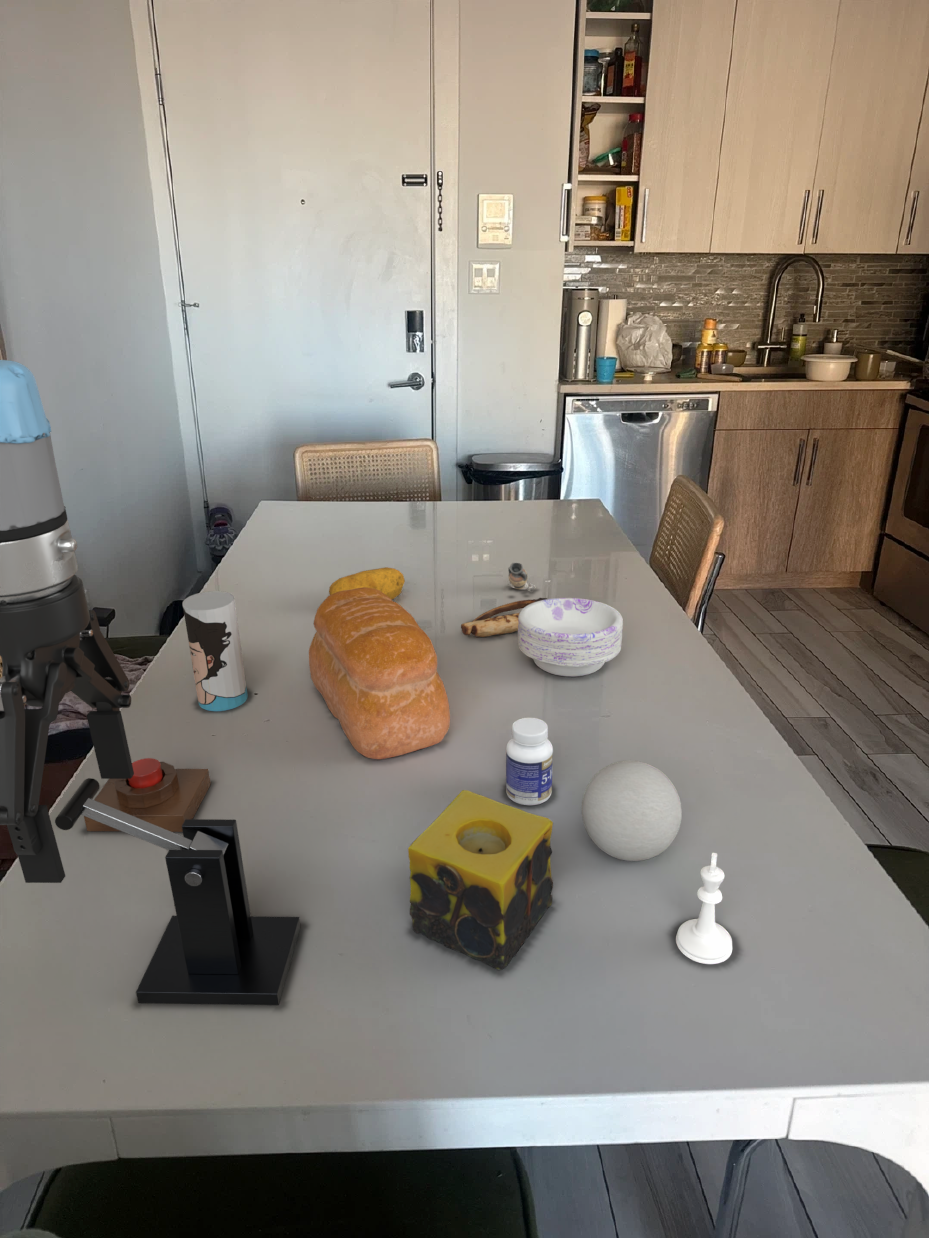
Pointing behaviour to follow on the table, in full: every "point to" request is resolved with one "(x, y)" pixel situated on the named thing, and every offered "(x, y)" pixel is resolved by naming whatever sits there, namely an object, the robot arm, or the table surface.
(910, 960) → the table surface
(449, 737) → the table surface
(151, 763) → the button
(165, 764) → the button block
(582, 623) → the paper bowls
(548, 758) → the pill bottle
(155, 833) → the lever
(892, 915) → the table surface
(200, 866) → the bracket
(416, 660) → the bread
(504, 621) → the bone fish hook
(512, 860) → the candle
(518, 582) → the vase
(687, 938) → the chess piece
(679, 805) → the ball
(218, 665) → the cup
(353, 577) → the potato
